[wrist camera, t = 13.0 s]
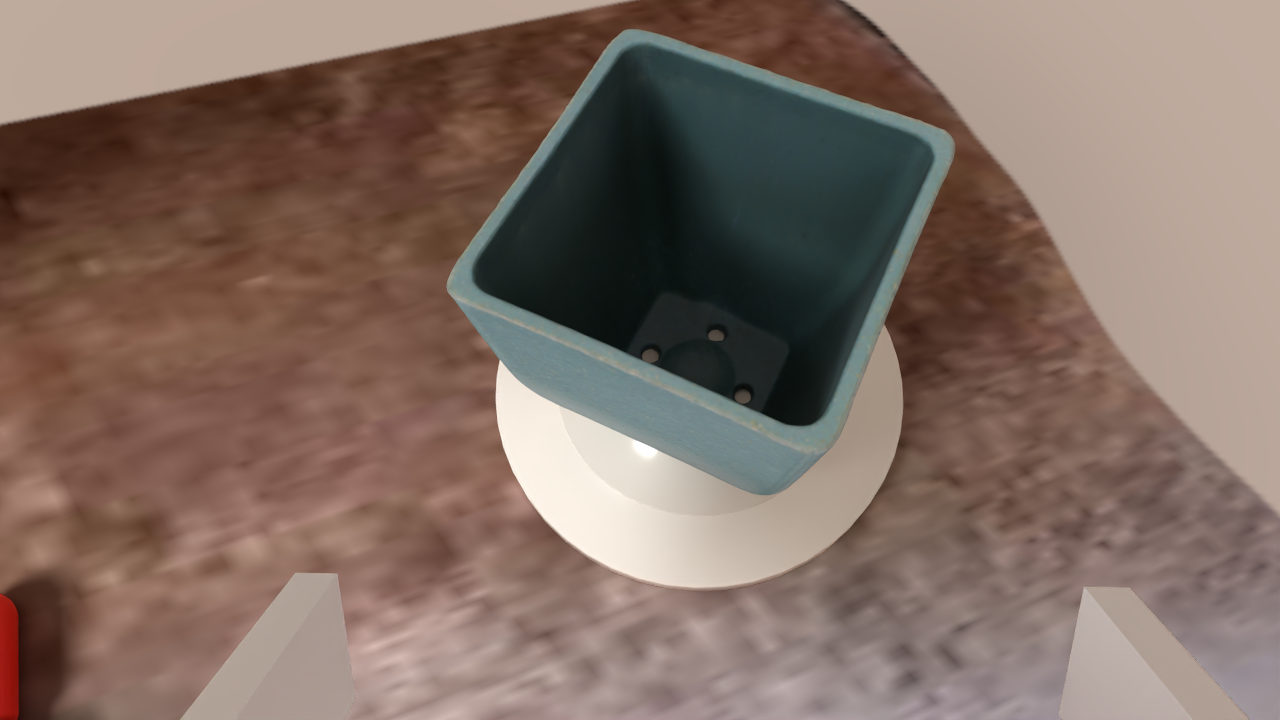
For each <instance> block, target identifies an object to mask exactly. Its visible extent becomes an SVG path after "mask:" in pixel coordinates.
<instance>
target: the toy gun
mask: <svg viewBox="0 0 1280 720" xmlns="http://www.w3.org/2000/svg"><path fill="white" fill-rule="evenodd" d="M18 716H19V640H18V612H17V609H16V607H15V605H14V604H13V602H12V601H11V600H10V599H9V598H7V597H6V596H4V595H3V594H0V720H17V719H18Z"/></svg>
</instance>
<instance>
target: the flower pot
mask: <svg viewBox="0 0 1280 720" xmlns="http://www.w3.org/2000/svg"><path fill="white" fill-rule="evenodd" d="M954 155H955V142H954V139H953V137H952V136H951V135H950V134H949V133H948V132H947V131H945V130H943V129H940V128H937V127H935V126H933V125H931V124H927V123H924V122H923V121H921V120H916V119H913V118H910V117H907V116H904V115H901V114H898V113H896V112H892V111H889V110H885V109H881V108H878V107H875V106H872V105H870V104H868V103H862V102H860V101H857V100H854V99H851V98H848V97H845V96H842V95H838V94H836V93H832V92H830V91H828V90H826V89H822V88H818V87H815V86H812V85H809V84H805V83H802V82H799V81H796V80H794V79H791V78H787V77H785V76H782V75H778V74H775V73H773V72H771V71H769V70H765V69H761V68H758V67H755V66H752V65H749V64H745V63H742V62H740V61H738V60H735V59H732V58H729V57H727V56H724V55H721V54H717V53H714V52H710V51H706V50H704V49H700V48H698V47H696V46H692V45H689V44H687V43H685V42H682V41H679V40H676V39H673V38H670V37H667V36H664V35H661V34H656V33H653V32H648V31H643V30H637V29H628V30H624V31H623V32H622V33H620V34H619V35H618V36H617V37H616V38H615V39H613V40H612V42H611V43H610V44H609V45H608V46H607V48H606V49H605V50H604V51H603V53H602V55H601V56H600V58H599V59H598V61H597V62H596V64H595V65H594V67H593V68H592V70H591V71H590V72H589V74H588V75H587V77H586V79H585V80H584V81H583V83H582V85H581V86H580V88H579V89H578V91H577V92H576V93H575V96H574V97H573V98H572V100H571V101H570V103H569V104H568V105H567V106H566V109H565V111H564V112H563V113H562V114H561V116H560V118H559V119H558V121H557V122H556V123H555V125H554V126H553V128H552V129H551V130H550V132H549V133H548V135H547V137H546V138H545V139H544V140H543V141H542V143H541V145H540V147H539V148H538V150H537V152H536V153H535V154H534V155H533V157H532V158H531V159H530V161H529V163H527V165H526V166H525V167H524V168H523V170H522V171H521V172H520V174H519V176H518V178H517V179H516V180H515V182H514V183H513V184H512V186H511V187H510V188H509V189H508V191H507V193H506V194H505V195H504V196H503V198H502V199H501V200H500V202H499V203H498V205H497V207H496V209H495V210H494V211H493V212H492V213H491V215H490V216H489V218H488V219H487V220H486V222H485V223H484V225H483V226H482V228H481V229H480V230H479V231H478V233H477V234H476V235H475V237H474V238H473V240H472V241H471V242H470V244H469V245H468V247H467V248H466V250H465V251H464V252H463V254H462V255H461V257H460V258H459V259H458V261H457V262H456V264H455V266H454V268H453V270H452V272H451V274H450V276H449V278H448V282H447V286H446V287H447V291H448V293H449V294H450V295H451V296H452V298H453V299H454V300H455V301H456V303H457V304H458V305H459V307H460V308H461V309H462V311H463V312H464V313H465V315H466V316H467V318H468V319H469V320H470V321H471V323H472V324H473V325H474V327H475V328H476V329H477V331H478V332H479V333H480V335H481V336H482V337H483V339H484V340H485V341H486V342H487V344H488V345H489V346H490V348H491V349H492V350H493V351H494V353H495V354H496V355H497V357H498V358H499V359H500V361H501V362H502V363H503V364H504V365H505V367H506V368H507V369H508V370H509V371H510V372H511V373H512V374H513V376H514V377H515V378H516V379H517V380H518V381H520V382H521V383H522V384H523V385H525V386H526V387H527V388H529V389H530V390H532V391H533V392H535V393H536V394H538V395H540V396H541V397H543V398H545V399H547V400H549V401H551V402H553V403H555V404H557V405H559V406H561V407H564V408H566V409H568V410H571V411H573V412H575V413H577V414H580V415H582V416H584V417H586V418H588V419H590V420H593V421H595V422H597V423H599V424H601V425H604V426H606V427H608V428H610V429H612V430H615V431H617V432H619V433H621V434H623V435H626V436H628V437H630V438H632V439H634V440H636V441H639V442H641V443H643V444H645V445H647V446H649V447H652V448H654V449H656V450H658V451H660V452H662V453H665V454H667V455H669V456H671V457H673V458H675V459H678V460H680V461H682V462H684V463H686V464H688V465H691V466H693V467H695V468H697V469H699V470H701V471H703V472H705V473H708V474H710V475H712V476H714V477H716V478H718V479H720V480H722V481H724V482H726V483H728V484H730V485H732V486H734V487H737V488H739V489H741V490H744V491H747V492H749V493H752V494H757V495H772V494H776V493H779V492H781V491H783V490H785V489H787V488H788V487H789V486H791V485H792V484H793V483H794V482H795V481H797V480H798V479H799V478H800V477H801V476H802V475H803V474H804V473H806V472H807V471H808V470H809V469H810V468H811V467H812V466H813V465H814V464H815V463H816V462H817V461H818V460H819V459H820V458H821V457H822V456H823V455H824V454H825V453H826V452H828V451H829V450H830V449H831V448H832V447H833V446H834V444H835V443H836V441H837V440H838V438H839V436H840V434H841V432H842V430H843V428H844V425H845V423H846V421H847V418H848V416H849V413H850V410H851V407H852V404H853V400H854V398H855V396H856V393H857V391H858V388H859V386H860V383H861V381H862V378H863V376H864V373H865V371H866V368H867V365H868V363H869V360H870V358H871V355H872V353H873V351H874V347H875V344H876V342H877V340H878V336H879V335H880V333H881V330H882V327H883V325H884V323H885V320H886V317H887V315H888V312H889V310H890V307H891V304H892V302H893V300H894V297H895V295H896V293H897V291H898V288H899V286H900V283H901V280H902V278H903V275H904V273H905V271H906V268H907V266H908V263H909V261H910V258H911V256H912V253H913V251H914V248H915V246H916V244H917V241H918V239H919V237H920V235H921V232H922V229H923V227H924V225H925V222H926V220H927V218H928V216H929V213H930V211H931V209H932V206H933V204H934V202H935V199H936V197H937V195H938V193H939V190H940V187H941V186H942V184H943V182H944V179H945V178H946V176H947V173H948V171H949V168H950V166H951V163H952V161H953V158H954ZM712 330H719V331H721V332H723V334H724V339H723V340H722V341H712V340H710V339H709V337H708V334H709V333H710V331H712ZM649 349H653V350H655V351H656V352H657V353H658V356H659V357H658V360H657V361H655V362H653V363H648V362H645V361H644V360H643V359H642V354H643V353H644V352H645V351H646V350H649ZM742 389H745V390H747V391H748V392H749V393H750V396H751V399H750V401H749V402H748V403H745V404H741V403H738V402H737V401H736V400H735V393H736V392H737V391H738V390H742Z"/></svg>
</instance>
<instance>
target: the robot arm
mask: <svg viewBox="0 0 1280 720" xmlns="http://www.w3.org/2000/svg"><path fill="white" fill-rule="evenodd" d="M355 699H356V695H355V688H354V682H353V675H352V668H351V662H350V655H349V648H348V642H347V635H346V629H345V622H344V615H343V609H342V602H341V595H340V589H339V582H338V575H337V574H331V573H295V574H294V575H293V577H292V578H291V579H290V580H289V582H288V583H287V584H286V586H285V587H284V588H283V589H282V591H281V592H280V593H279V594H278V596H277V597H276V598H275V600H274V601H273V602H272V603H271V605H270V606H269V607H268V608H267V610H266V611H265V612H264V614H263V615H262V616H261V617H260V619H259V620H258V621H257V623H256V624H255V625H254V626H253V628H252V629H251V630H250V631H249V633H248V634H247V635H246V637H245V638H244V639H243V640H242V642H241V643H240V644H239V645H238V647H237V648H236V649H235V651H234V652H233V653H232V654H231V656H230V657H229V658H228V659H227V661H226V662H225V663H224V665H223V666H222V667H221V668H220V670H219V671H218V672H217V673H216V675H215V676H214V677H213V679H212V680H211V681H210V682H209V684H208V685H207V686H206V687H205V689H204V690H203V691H202V693H201V694H200V695H199V696H198V698H197V699H196V700H195V701H194V703H193V704H192V705H191V707H190V708H189V709H188V710H187V712H186V713H185V714H184V716H183V717H182V718H181V719H180V720H345V718H346V716H347V714H348V712H349V710H350V709H351V707H352V705H353V703H354V701H355ZM1059 717H1060V718H1061V720H1250V719H1249V718H1248V717H1247V716H1246V715H1245V714H1244V713H1243V712H1242V711H1241V710H1240V708H1239V707H1238V706H1237V705H1236V704H1235V703H1234V702H1233V701H1232V700H1231V699H1230V697H1229V696H1228V695H1227V694H1226V693H1225V692H1224V691H1223V690H1222V689H1221V688H1220V686H1219V685H1218V684H1217V683H1216V682H1215V681H1214V680H1213V679H1212V678H1211V677H1210V675H1209V674H1208V673H1207V672H1206V671H1205V670H1204V669H1203V668H1202V667H1201V666H1200V664H1199V663H1198V662H1197V661H1196V660H1195V659H1194V658H1193V657H1192V656H1191V655H1190V653H1189V652H1188V651H1187V650H1186V649H1185V648H1184V647H1183V646H1182V645H1181V644H1180V642H1179V641H1178V640H1177V639H1176V638H1175V637H1174V636H1173V635H1172V634H1171V633H1170V631H1169V630H1168V629H1167V628H1166V627H1165V626H1164V625H1163V624H1162V623H1161V622H1160V620H1159V619H1158V618H1157V617H1156V616H1155V615H1154V614H1153V613H1152V612H1151V611H1150V609H1149V608H1148V607H1147V606H1146V605H1145V604H1144V603H1143V602H1142V601H1141V600H1140V598H1139V597H1138V596H1137V595H1136V594H1135V593H1134V592H1133V591H1132V590H1131V589H1130V587H1084V589H1083V594H1082V599H1081V604H1080V609H1079V614H1078V619H1077V624H1076V629H1075V634H1074V639H1073V644H1072V649H1071V654H1070V659H1069V664H1068V669H1067V674H1066V680H1065V685H1064V690H1063V695H1062V700H1061V705H1060V710H1059Z"/></svg>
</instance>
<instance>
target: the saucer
mask: <svg viewBox="0 0 1280 720" xmlns="http://www.w3.org/2000/svg"><path fill="white" fill-rule="evenodd" d="M708 337H709V339H710V340H712V341H722V340H723V339H724V334H723V332H721V331H719V330H712V331H710V333H709V334H708ZM658 357H659V356H658V353H657V352H656V351H655V350H653V349H649V350H646V351H645V352H644V353H643V354H642V359H643V360H644V361H645V362H648V363H653V362H655V361H657V360H658ZM750 399H751V396H750V393H749V392H748V391H747V390H745V389H742V390H738V391H737V392H736V393H735V400H736V401H737V402H738V403H741V404H745V403H748V402H749V401H750ZM496 408H497V420H498V426H499V431H500V435H501V439H502V443H503V448H504V450H505V453H506V455H507V458H508V460H509V463H510V465H511V468H512V470H513V473H514V474H515V476H516V478H517V480H518V481H519V483H520V485H521V487H522V488H523V490H524V492H525V494H526V495H527V497H528V499H529V501H530V502H531V504H532V505H533V506H534V508H535V509H536V510H537V512H538V513H539V514H540V516H541V517H542V518H543V519H544V521H545V522H546V523H547V524H548V525H549V526H550V527H551V528H552V529H553V530H554V531H555V532H556V533H557V534H558V535H559V536H560V537H561V538H562V539H563V540H564V541H565V542H566V543H567V544H569V545H570V546H571V547H573V548H574V549H576V550H577V551H578V552H580V553H581V554H582V555H584V556H585V557H586V558H588V559H590V560H591V561H593V562H595V563H597V564H599V565H601V566H602V567H604V568H606V569H608V570H610V571H612V572H614V573H616V574H619V575H622V576H624V577H627V578H630V579H632V580H635V581H637V582H641V583H645V584H649V585H654V586H658V587H662V588H666V589H677V590H687V591H717V590H728V589H734V588H740V587H745V586H751V585H755V584H758V583H761V582H764V581H767V580H770V579H774V578H777V577H779V576H782V575H784V574H786V573H788V572H790V571H792V570H794V569H796V568H798V567H800V566H802V565H804V564H806V563H807V562H809V561H810V560H812V559H813V558H815V557H816V556H818V555H819V554H821V553H822V552H824V551H825V550H827V549H828V548H829V547H830V546H831V545H832V544H834V543H835V542H836V541H837V540H838V539H839V538H840V537H841V536H843V535H844V534H845V533H846V532H847V531H848V530H849V528H850V527H851V526H852V525H853V524H854V522H855V521H856V520H857V519H858V518H859V516H860V515H861V514H862V513H863V512H864V510H865V509H866V508H867V507H868V505H869V504H870V503H871V501H872V499H873V498H874V496H875V495H876V493H877V491H878V490H879V488H880V486H881V485H882V483H883V481H884V480H885V477H886V475H887V473H888V470H889V468H890V466H891V463H892V461H893V458H894V456H895V452H896V448H897V444H898V440H899V436H900V433H901V424H902V414H903V390H902V379H901V373H900V368H899V363H898V358H897V355H896V352H895V349H894V346H893V343H892V340H891V337H890V335H889V333H888V331H887V329H886V327H885V325H883V327H882V330H881V333H880V335H879V336H878V340H877V342H876V344H875V347H874V351H873V353H872V355H871V358H870V360H869V363H868V365H867V368H866V371H865V373H864V376H863V378H862V381H861V383H860V386H859V388H858V391H857V393H856V396H855V398H854V400H853V404H852V407H851V410H850V413H849V416H848V418H847V421H846V423H845V425H844V428H843V430H842V432H841V434H840V436H839V438H838V440H837V441H836V443H835V444H834V446H833V447H832V448H831V449H830V450H829V451H828V452H826V453H825V454H824V455H823V456H822V457H821V458H820V459H819V460H818V461H817V462H816V463H815V464H814V465H813V466H812V467H811V468H810V469H809V470H808V471H807V472H806V473H804V474H803V475H802V476H801V477H800V478H799V479H798V480H797V481H795V482H794V483H793V484H792V485H791V486H789V487H788V488H787V489H785V490H783V491H781V492H779V493H776V494H772V495H757V494H752V493H749V492H747V491H744V490H741V489H739V488H737V487H734V486H732V485H730V484H728V483H726V482H724V481H722V480H720V479H718V478H716V477H714V476H712V475H710V474H708V473H705V472H703V471H701V470H699V469H697V468H695V467H693V466H691V465H688V464H686V463H684V462H682V461H680V460H678V459H675V458H673V457H671V456H669V455H667V454H665V453H662V452H660V451H658V450H656V449H654V448H652V447H649V446H647V445H645V444H643V443H641V442H639V441H636V440H634V439H632V438H630V437H628V436H626V435H623V434H621V433H619V432H617V431H615V430H612V429H610V428H608V427H606V426H604V425H601V424H599V423H597V422H595V421H593V420H590V419H588V418H586V417H584V416H582V415H580V414H577V413H575V412H573V411H571V410H568V409H566V408H564V407H561V406H559V405H557V404H555V403H553V402H551V401H549V400H547V399H545V398H543V397H541V396H540V395H538V394H536V393H535V392H533V391H532V390H530V389H529V388H527V387H526V386H525V385H523V384H522V383H521V382H520V381H518V380H517V379H516V378H515V377H514V376H513V374H512V373H511V372H510V371H509V370H508V369H507V368H506V367H505V365H504V364H503V363H502V362H501V361H500V363H499V368H498V373H497V385H496Z"/></svg>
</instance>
